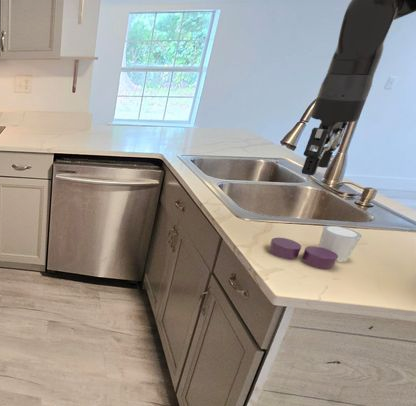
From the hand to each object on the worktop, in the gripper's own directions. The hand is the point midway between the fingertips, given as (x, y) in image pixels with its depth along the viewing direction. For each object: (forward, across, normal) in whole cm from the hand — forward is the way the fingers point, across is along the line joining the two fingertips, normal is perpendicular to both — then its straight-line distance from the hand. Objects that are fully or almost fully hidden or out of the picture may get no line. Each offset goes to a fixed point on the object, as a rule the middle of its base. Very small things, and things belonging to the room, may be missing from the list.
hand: (314, 170), depth 82 cm
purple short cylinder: (+23, +4, -6) cm, 24 cm away
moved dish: (+23, +3, +1) cm, 23 cm away
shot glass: (+24, +11, -7) cm, 27 cm away
